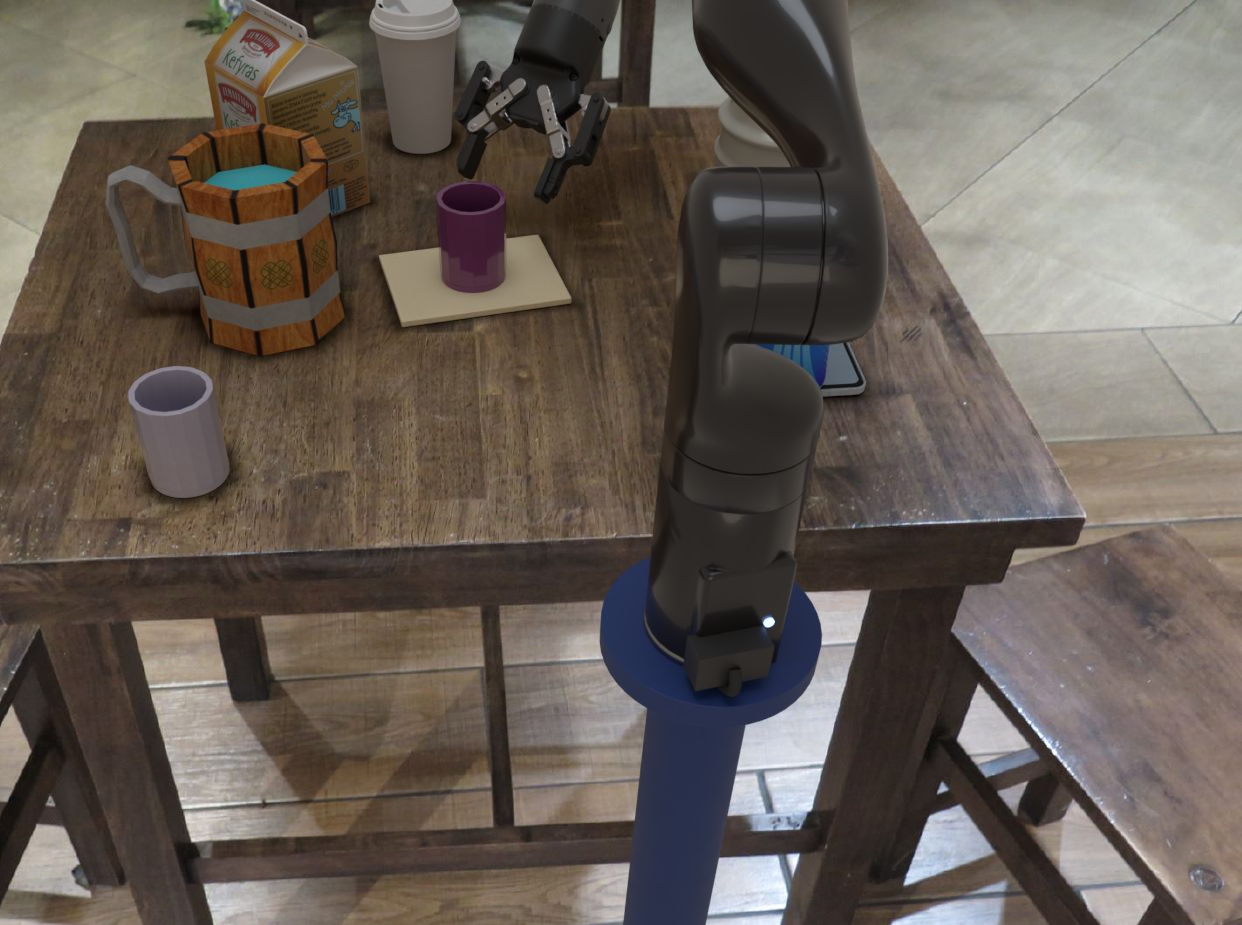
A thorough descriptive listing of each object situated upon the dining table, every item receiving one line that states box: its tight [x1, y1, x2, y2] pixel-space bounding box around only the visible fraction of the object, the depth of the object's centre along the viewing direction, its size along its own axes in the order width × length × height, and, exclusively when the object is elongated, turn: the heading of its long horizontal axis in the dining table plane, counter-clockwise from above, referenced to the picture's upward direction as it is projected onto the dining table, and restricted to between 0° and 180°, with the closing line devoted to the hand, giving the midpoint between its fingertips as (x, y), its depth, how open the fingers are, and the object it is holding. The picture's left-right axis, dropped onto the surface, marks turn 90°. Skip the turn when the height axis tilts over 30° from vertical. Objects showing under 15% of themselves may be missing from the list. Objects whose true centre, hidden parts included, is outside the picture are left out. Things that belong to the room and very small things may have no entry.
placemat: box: [378, 234, 572, 328], centre depth 120 cm, size 12×16×1 cm
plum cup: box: [435, 180, 507, 293], centre depth 117 cm, size 6×6×8 cm
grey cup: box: [127, 365, 231, 499], centre depth 97 cm, size 6×6×8 cm
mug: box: [104, 123, 347, 357], centre depth 111 cm, size 20×14×15 cm
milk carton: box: [204, 0, 371, 218], centre depth 124 cm, size 11×11×19 cm
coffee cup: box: [368, 0, 462, 155], centre depth 135 cm, size 10×10×15 cm
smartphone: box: [820, 342, 867, 397], centre depth 112 cm, size 7×1×15 cm
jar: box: [713, 96, 790, 167], centre depth 121 cm, size 13×13×18 cm
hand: (502, 188), depth 118 cm, fingers open, 8 cm apart
